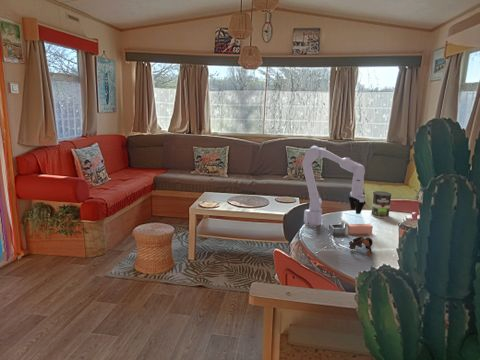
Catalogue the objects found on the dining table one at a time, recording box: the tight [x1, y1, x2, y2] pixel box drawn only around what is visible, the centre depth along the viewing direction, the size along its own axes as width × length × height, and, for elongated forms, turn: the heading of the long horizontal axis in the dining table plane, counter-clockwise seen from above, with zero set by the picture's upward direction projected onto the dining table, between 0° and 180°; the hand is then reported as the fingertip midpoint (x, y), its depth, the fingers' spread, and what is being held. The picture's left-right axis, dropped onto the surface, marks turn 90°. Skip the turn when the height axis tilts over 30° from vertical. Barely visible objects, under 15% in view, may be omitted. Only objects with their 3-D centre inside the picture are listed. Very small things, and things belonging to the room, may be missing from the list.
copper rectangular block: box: [348, 223, 373, 235], centre depth 185 cm, size 12×4×4 cm, turn 93°
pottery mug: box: [348, 236, 374, 257], centre depth 164 cm, size 12×10×8 cm
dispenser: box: [327, 218, 370, 237], centre depth 184 cm, size 19×10×7 cm, turn 93°
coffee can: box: [370, 190, 392, 219], centre depth 216 cm, size 10×10×14 cm
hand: (355, 211), depth 191 cm, fingers open, 7 cm apart
